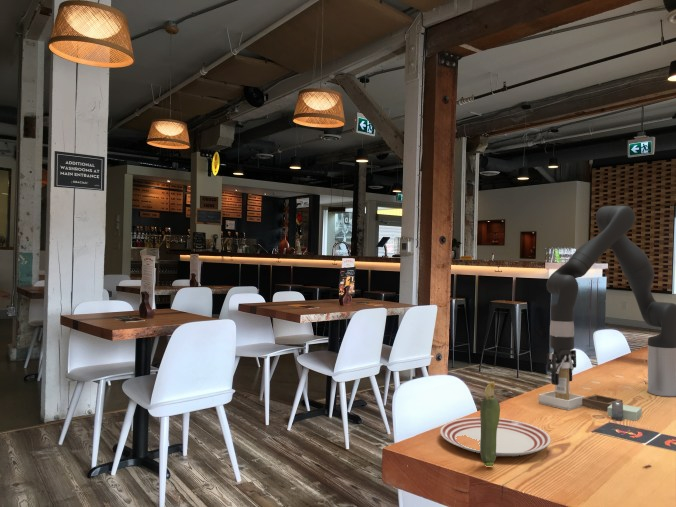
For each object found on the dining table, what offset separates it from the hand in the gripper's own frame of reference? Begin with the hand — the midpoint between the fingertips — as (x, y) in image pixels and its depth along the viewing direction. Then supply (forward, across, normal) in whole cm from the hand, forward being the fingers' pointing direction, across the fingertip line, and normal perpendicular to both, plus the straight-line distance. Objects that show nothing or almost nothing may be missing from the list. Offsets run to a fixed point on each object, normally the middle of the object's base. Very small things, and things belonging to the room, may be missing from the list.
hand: (561, 382), depth 177 cm
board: (+8, -3, +19) cm, 20 cm away
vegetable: (+7, +65, +19) cm, 68 cm away
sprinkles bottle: (+7, 0, 0) cm, 7 cm away
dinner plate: (+8, +51, +10) cm, 53 cm away
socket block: (+7, -8, +10) cm, 14 cm away
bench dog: (+7, +2, +19) cm, 20 cm away
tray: (+7, 0, 0) cm, 7 cm away
